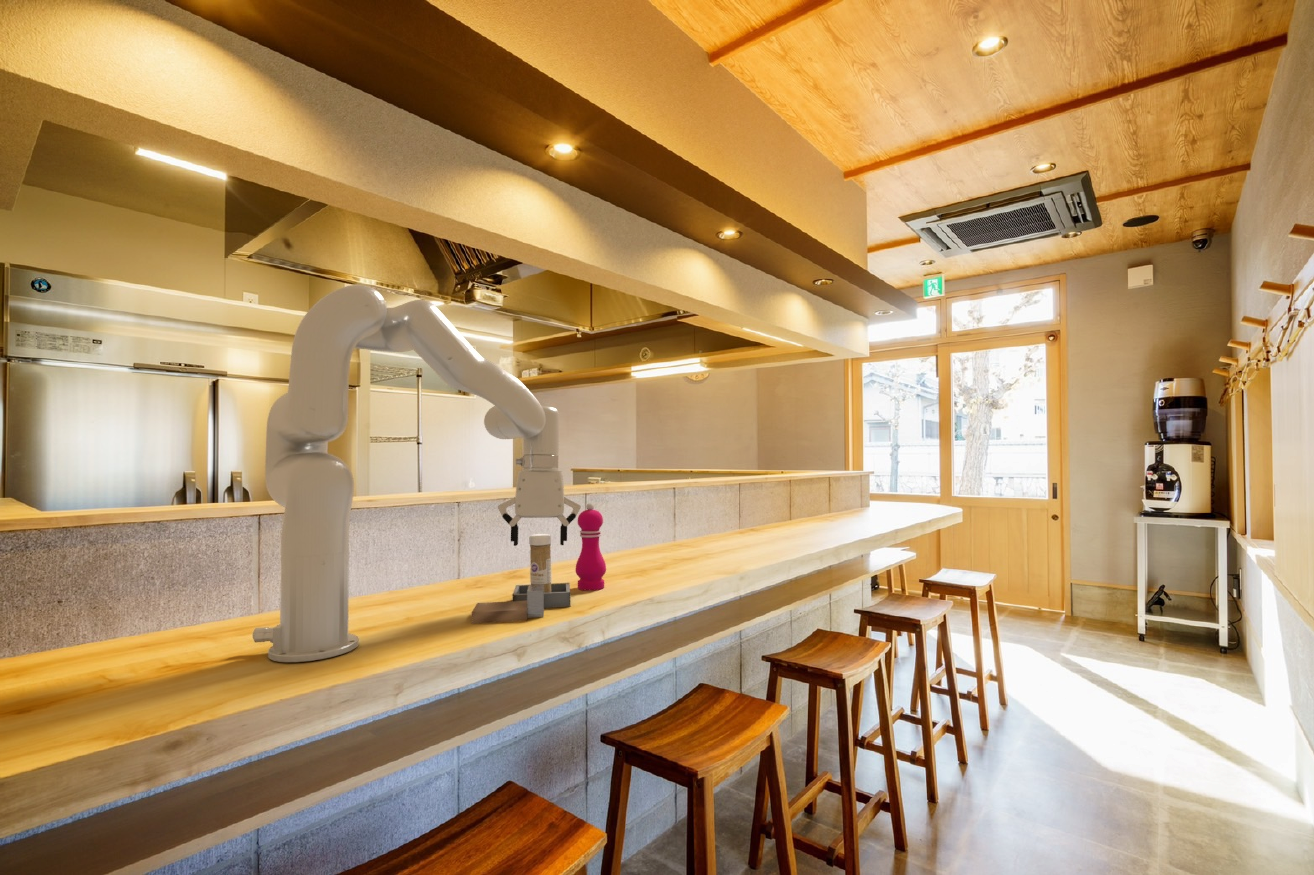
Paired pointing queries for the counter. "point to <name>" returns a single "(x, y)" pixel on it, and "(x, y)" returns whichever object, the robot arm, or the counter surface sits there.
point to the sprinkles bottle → (540, 560)
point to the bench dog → (535, 601)
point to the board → (499, 612)
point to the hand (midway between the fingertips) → (539, 544)
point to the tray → (547, 595)
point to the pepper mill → (590, 551)
